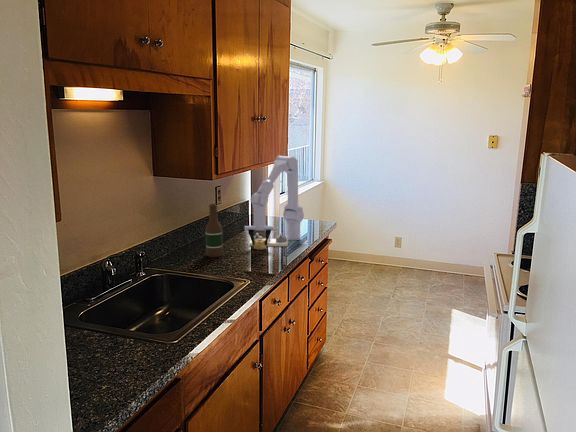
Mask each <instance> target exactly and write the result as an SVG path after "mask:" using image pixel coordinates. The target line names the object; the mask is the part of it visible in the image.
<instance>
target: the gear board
mask: <svg viewBox="0 0 576 432" xmlns="http://www.w3.org/2000/svg"><path fill="white" fill-rule="evenodd" d="M255 239H265V240H266V238H263V236H262V235H259V233H258V232H256V233H255V235H254V240H255ZM288 246H289V240H288V239H286V235H283V233H282V232H279V235H277V236H276V237H275V238H271V234H270V235H269V238H268V242H267V245H266V247H288ZM249 247H254V245H253V244H252V240H251V239H250V241H249Z"/></svg>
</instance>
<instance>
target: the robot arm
mask: <svg viewBox="0 0 576 432" xmlns="http://www.w3.org/2000/svg"><path fill="white" fill-rule="evenodd" d="M273 165H274V166H273V167H272V170H271V171H270V173H269V175H268V177H267V179H265V180H263V181H262V182H261V184H260V186H259V187H258V190H256V192H254V193H253V194H252V195H251V198H250V203H251V205H252V208H253V225H244V231H245V232H246V231H248V232H247V233H248V235H249V237H250V241H251V240H252V244H253V245H254V236H255V231H265V239H266V243H265V244H266V245H267V242H268V238H269V235H270V236H271V233H272V232H275V231H276V228H275V227H276V226H275V225H267V224H266V205H267V204H268V203H269V202H268V201H269V196H270V195H271V192H272V190H273V189H274V187H275V186H274V183H275V182H276V180H277V179H278V178H279V176H280V175H281V173H282V172H283V173H284V172H285V173H286V175H287V176H286V177H287V178H286V180H287V204H286V205H284V207H283V208H284V210H283V214H282V215H283V219H284V220H285V222H286V235H285V237H286V239H288V241H298V240H299V241H301V240H302V234H301V223H302V221H303V220H304V217H305V213H304V210H303V206H301V205H300V203H299V169H298V168H299V167H298V165H299V163H298V159H297V158H296V157H295V156H289V155H288V156H285V155H277V156H276V158H275V160H274V162H273Z"/></svg>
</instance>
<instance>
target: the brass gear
mask: <svg viewBox="0 0 576 432" xmlns="http://www.w3.org/2000/svg"><path fill="white" fill-rule="evenodd" d="M265 239H266V238H263V239H255V240H254V246H253V249H254V250H266V248H267V246H266V244H265V243H266V240H265Z"/></svg>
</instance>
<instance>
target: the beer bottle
mask: <svg viewBox="0 0 576 432" xmlns="http://www.w3.org/2000/svg"><path fill="white" fill-rule="evenodd" d="M208 207H209V212H208V213H209V215H208V216H209V219H208V222H207V224H206V225H205V230H204V231H205V233H204V234H205V253H206V256H208V257H209V258H220V257H222V256H223V255H224V243H223V242H224V241H223V240H224V238H223V234H224V233H223V228H222V225H221V223H220V222H219V218H218V209H217V208H218V205H217V204H216V203H210V204H209V205H208Z"/></svg>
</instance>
